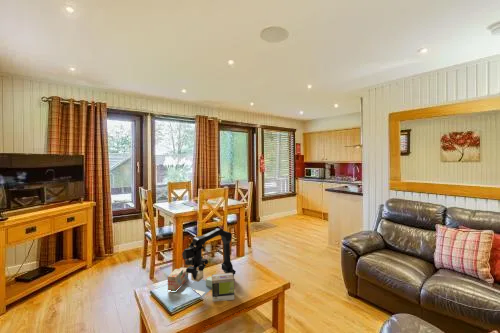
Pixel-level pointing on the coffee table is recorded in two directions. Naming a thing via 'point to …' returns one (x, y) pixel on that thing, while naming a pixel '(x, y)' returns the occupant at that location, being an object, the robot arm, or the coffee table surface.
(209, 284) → the sage cube
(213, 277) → the tea box
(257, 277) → the coffee table surface
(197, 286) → the grey flat sheet
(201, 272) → the maple block
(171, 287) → the printed cardboard box
